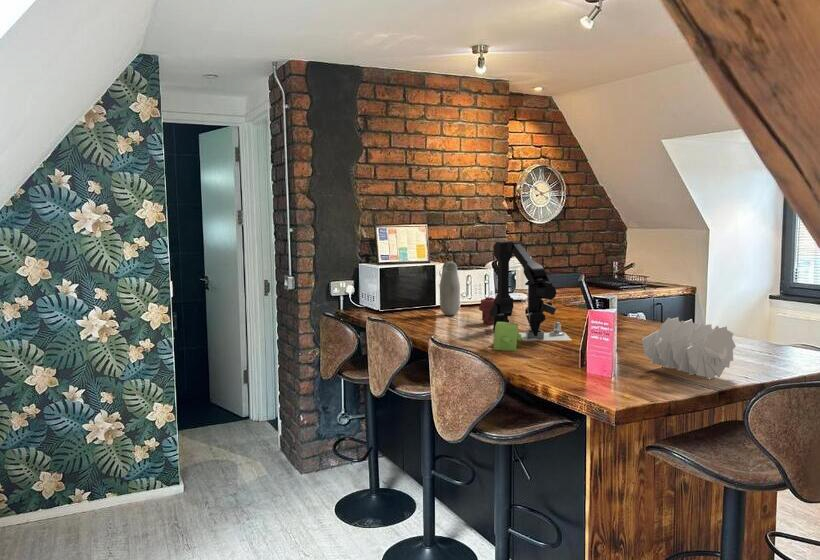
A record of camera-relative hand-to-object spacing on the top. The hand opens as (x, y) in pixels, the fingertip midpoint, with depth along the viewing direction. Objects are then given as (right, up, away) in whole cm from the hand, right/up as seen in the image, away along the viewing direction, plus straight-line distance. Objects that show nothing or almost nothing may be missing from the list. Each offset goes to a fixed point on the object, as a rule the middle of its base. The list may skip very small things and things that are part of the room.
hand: (534, 334), depth 269 cm
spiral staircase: (+39, -8, -58) cm, 70 cm away
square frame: (0, -1, 0) cm, 1 cm away
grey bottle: (-31, +4, +66) cm, 73 cm away
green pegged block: (-14, -4, -17) cm, 22 cm away
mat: (+5, -2, +3) cm, 6 cm away
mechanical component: (-14, +2, +40) cm, 42 cm away
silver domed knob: (+11, -1, +7) cm, 13 cm away
